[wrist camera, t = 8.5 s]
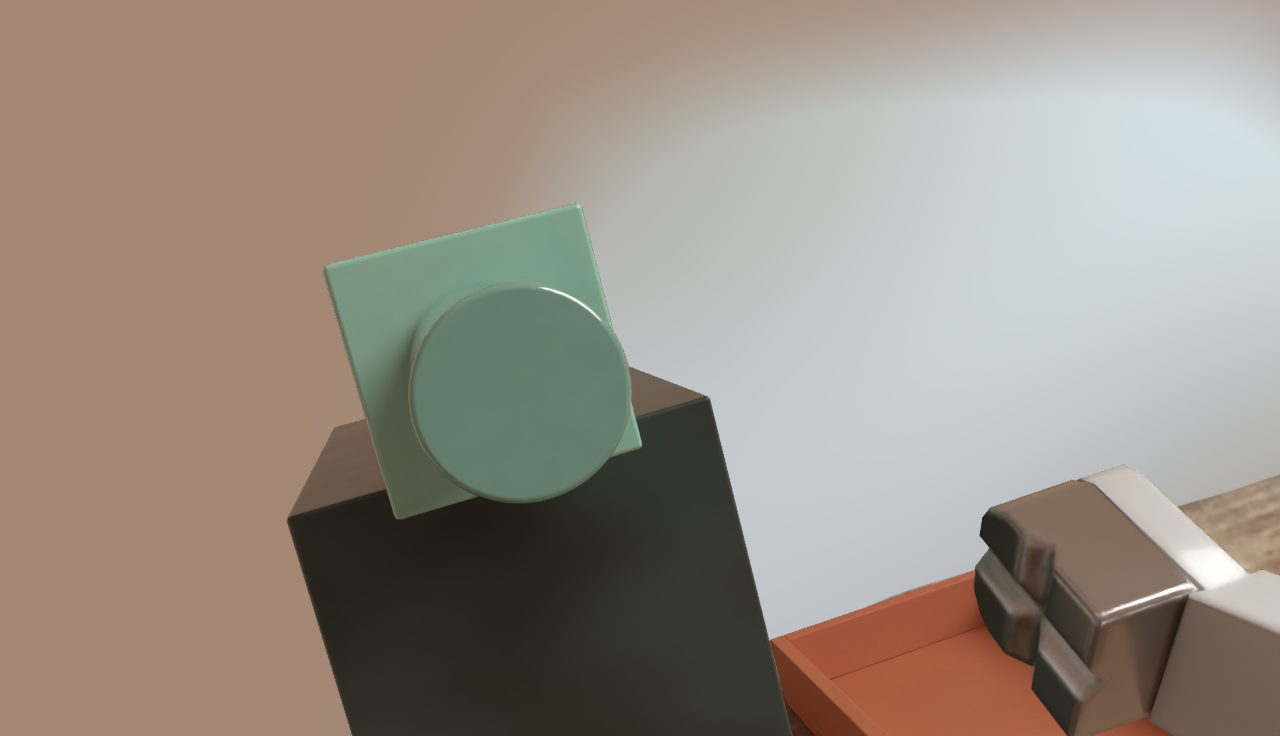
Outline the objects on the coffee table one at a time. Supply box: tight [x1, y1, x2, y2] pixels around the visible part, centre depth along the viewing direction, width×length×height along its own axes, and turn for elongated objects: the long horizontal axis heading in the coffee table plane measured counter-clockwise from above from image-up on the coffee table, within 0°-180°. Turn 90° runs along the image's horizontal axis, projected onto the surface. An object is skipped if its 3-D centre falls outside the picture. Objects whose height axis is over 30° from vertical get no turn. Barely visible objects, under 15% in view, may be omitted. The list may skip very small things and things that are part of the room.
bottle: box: [323, 203, 642, 520], centre depth 20 cm, size 4×17×4 cm, turn 13°
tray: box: [770, 571, 1173, 736], centre depth 49 cm, size 15×22×4 cm
